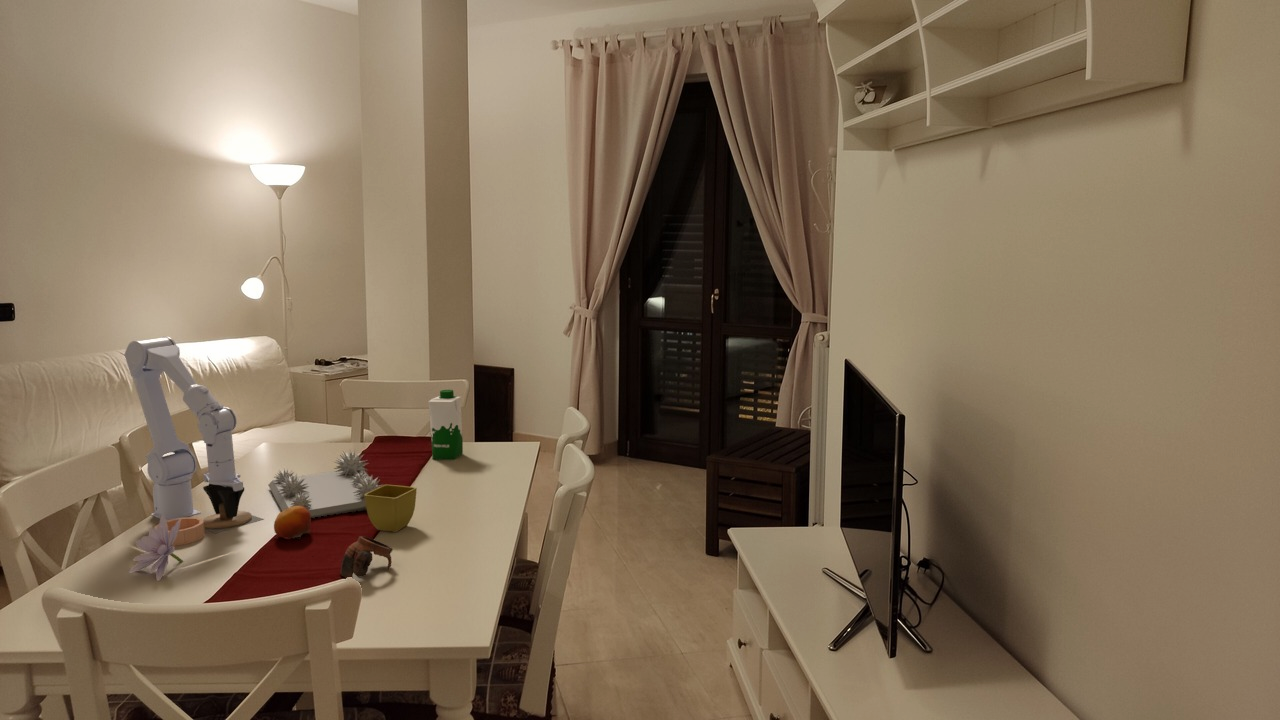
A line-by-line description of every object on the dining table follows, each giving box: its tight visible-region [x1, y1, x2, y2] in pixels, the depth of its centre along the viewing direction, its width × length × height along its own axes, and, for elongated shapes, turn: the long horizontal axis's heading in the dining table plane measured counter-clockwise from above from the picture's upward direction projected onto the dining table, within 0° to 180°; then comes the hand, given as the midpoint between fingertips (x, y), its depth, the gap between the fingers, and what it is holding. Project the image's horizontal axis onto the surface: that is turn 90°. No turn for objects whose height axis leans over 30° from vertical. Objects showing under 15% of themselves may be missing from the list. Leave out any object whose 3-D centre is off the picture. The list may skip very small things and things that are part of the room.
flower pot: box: [364, 484, 417, 533], centre depth 205 cm, size 9×9×9 cm
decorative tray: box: [268, 449, 383, 519], centre depth 230 cm, size 35×26×10 cm
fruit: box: [273, 506, 312, 539], centre depth 202 cm, size 8×8×8 cm
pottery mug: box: [340, 535, 393, 579], centre depth 178 cm, size 12×10×8 cm
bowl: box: [153, 516, 206, 547], centre depth 201 cm, size 10×10×4 cm
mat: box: [205, 514, 265, 535], centre depth 212 cm, size 12×12×1 cm
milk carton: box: [427, 389, 464, 461], centre depth 268 cm, size 9×9×20 cm
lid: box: [203, 503, 253, 529], centre depth 212 cm, size 11×11×4 cm
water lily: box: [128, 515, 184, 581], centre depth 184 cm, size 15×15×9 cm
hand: (226, 515), depth 212 cm, fingers open, 5 cm apart
